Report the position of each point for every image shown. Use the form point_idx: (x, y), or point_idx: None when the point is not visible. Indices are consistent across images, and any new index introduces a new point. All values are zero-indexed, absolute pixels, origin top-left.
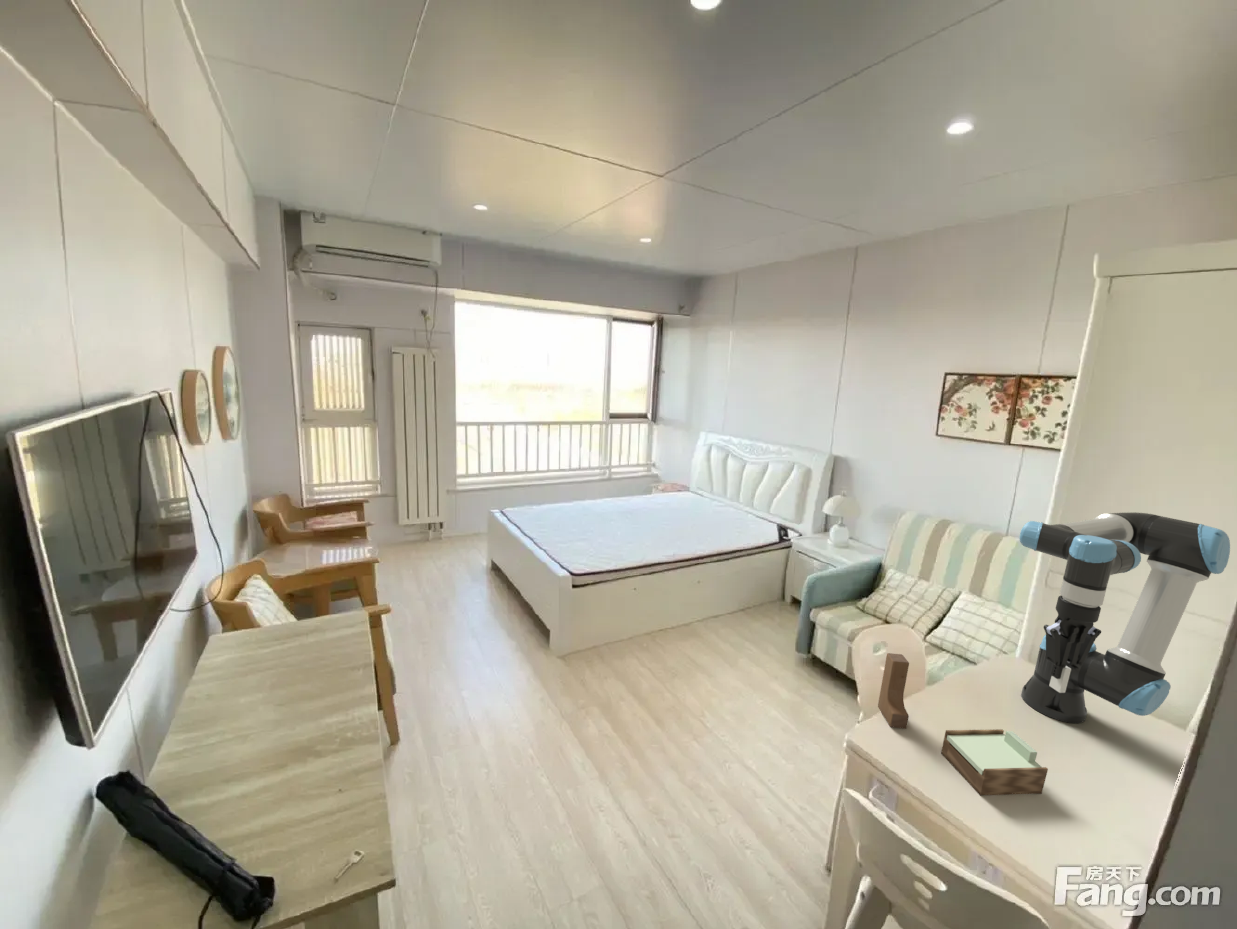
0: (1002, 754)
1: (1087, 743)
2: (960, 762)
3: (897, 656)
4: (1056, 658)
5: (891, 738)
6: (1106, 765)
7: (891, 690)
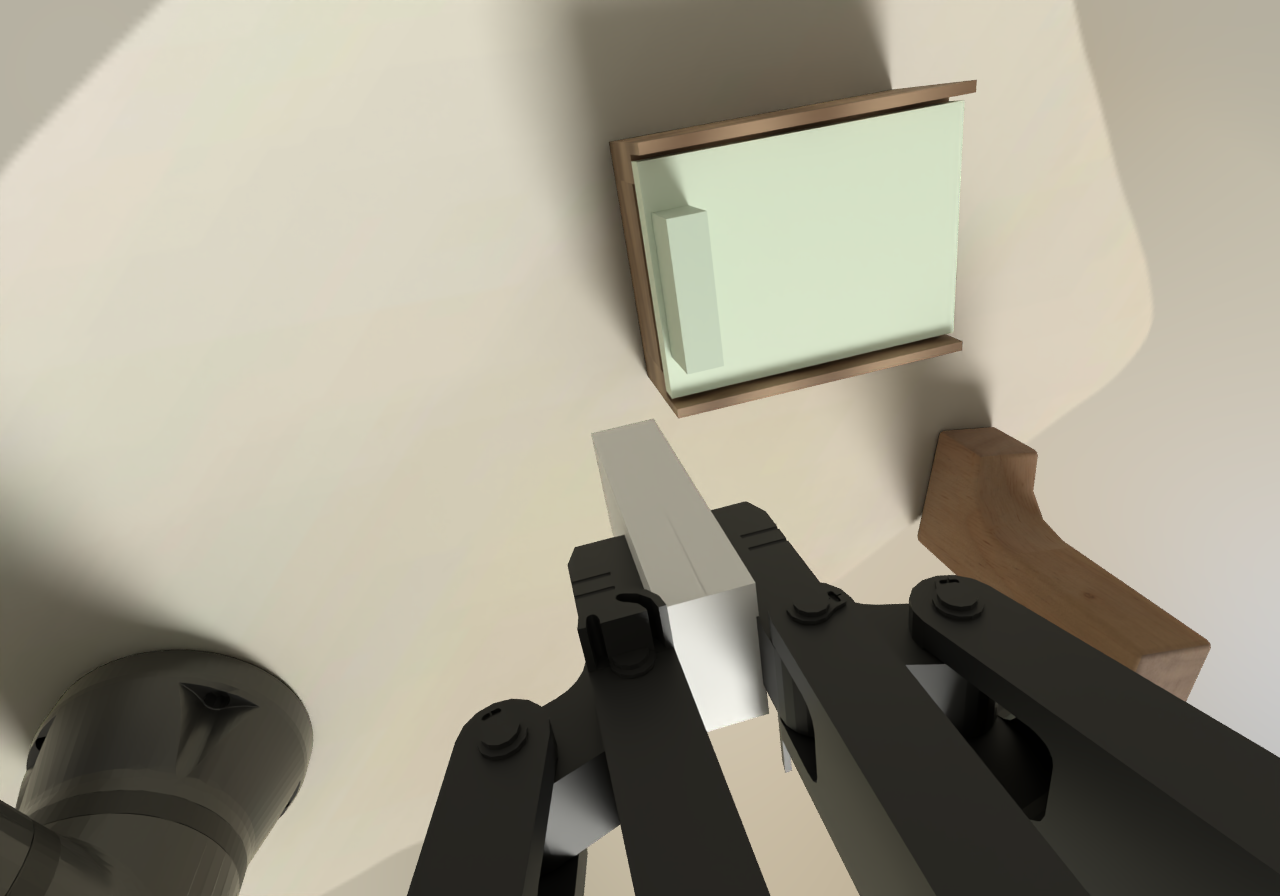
0: (783, 241)
1: (154, 531)
2: None
3: None
4: (1073, 661)
5: (1026, 366)
6: (144, 397)
7: (1061, 546)
